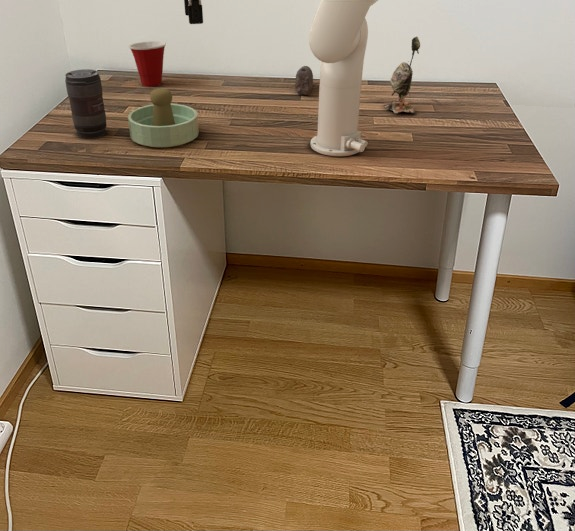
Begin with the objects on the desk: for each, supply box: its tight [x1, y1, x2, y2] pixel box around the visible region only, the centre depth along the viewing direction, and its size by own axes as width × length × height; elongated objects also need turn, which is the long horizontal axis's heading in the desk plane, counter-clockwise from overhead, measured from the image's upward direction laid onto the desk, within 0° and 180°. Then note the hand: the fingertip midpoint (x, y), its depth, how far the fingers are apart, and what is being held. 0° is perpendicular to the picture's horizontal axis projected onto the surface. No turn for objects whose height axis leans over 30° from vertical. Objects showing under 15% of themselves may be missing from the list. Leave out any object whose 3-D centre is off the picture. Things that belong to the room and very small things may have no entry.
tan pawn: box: [149, 87, 175, 126], centre depth 151 cm, size 6×6×11 cm
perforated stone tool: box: [294, 65, 314, 96], centre depth 185 cm, size 15×5×7 cm, turn 174°
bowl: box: [127, 103, 200, 148], centre depth 153 cm, size 17×17×6 cm
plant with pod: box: [383, 36, 421, 114], centre depth 168 cm, size 8×11×20 cm
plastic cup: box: [128, 40, 167, 88], centre depth 186 cm, size 11×11×12 cm
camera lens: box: [64, 68, 107, 140], centre depth 151 cm, size 8×8×15 cm
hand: (194, 19), depth 147 cm, fingers open, 9 cm apart
